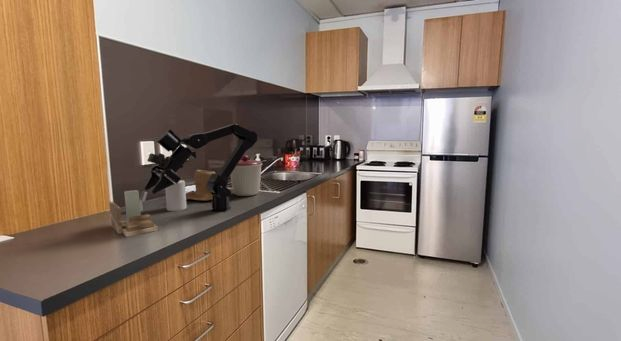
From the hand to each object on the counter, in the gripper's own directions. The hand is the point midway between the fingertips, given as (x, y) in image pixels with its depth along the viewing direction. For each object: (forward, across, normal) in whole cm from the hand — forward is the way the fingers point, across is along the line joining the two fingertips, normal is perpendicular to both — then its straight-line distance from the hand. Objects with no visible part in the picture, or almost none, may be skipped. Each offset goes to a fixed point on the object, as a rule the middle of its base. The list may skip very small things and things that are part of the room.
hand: (148, 191), depth 117 cm
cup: (-2, -16, +19) cm, 25 cm away
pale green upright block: (+13, 0, +5) cm, 14 cm away
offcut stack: (+12, +8, +4) cm, 15 cm away
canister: (-29, -20, +46) cm, 58 cm away
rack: (+13, +3, +4) cm, 14 cm away
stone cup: (-13, -25, +30) cm, 42 cm away
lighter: (+7, -24, +10) cm, 27 cm away
